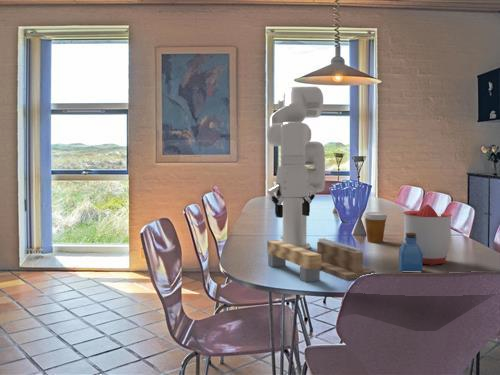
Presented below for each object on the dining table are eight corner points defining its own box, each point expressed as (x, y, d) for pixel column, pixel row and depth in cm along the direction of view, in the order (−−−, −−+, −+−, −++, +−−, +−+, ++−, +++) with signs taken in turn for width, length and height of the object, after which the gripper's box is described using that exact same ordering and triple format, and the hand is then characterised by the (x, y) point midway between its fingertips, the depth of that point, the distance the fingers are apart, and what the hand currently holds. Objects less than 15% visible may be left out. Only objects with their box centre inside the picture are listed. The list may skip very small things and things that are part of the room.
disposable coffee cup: (389, 243, 193) (390, 214, 192) (366, 243, 193) (367, 215, 192) (382, 239, 202) (383, 212, 202) (361, 239, 202) (361, 212, 202)
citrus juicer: (460, 260, 162) (461, 203, 161) (438, 269, 150) (440, 208, 149) (417, 253, 174) (418, 200, 172) (394, 261, 161) (395, 204, 160)
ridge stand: (305, 264, 158) (305, 239, 157) (332, 260, 162) (332, 236, 162) (346, 280, 138) (346, 251, 137) (374, 275, 143) (375, 248, 142)
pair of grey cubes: (268, 265, 156) (268, 253, 156) (281, 263, 159) (281, 252, 158) (305, 282, 136) (305, 268, 136) (319, 280, 138) (319, 266, 138)
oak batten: (267, 252, 158) (267, 240, 157) (277, 251, 159) (277, 239, 159) (309, 269, 134) (309, 256, 134) (321, 268, 136) (321, 254, 136)
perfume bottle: (422, 273, 146) (422, 235, 145) (401, 272, 147) (402, 235, 146) (418, 268, 152) (419, 232, 151) (398, 267, 153) (399, 231, 152)
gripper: (309, 161, 152) (309, 213, 153) (262, 161, 144) (262, 216, 145) (322, 161, 145) (322, 216, 146) (274, 162, 137) (274, 219, 139)
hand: (292, 216), depth 146 cm, fingers open, 9 cm apart
